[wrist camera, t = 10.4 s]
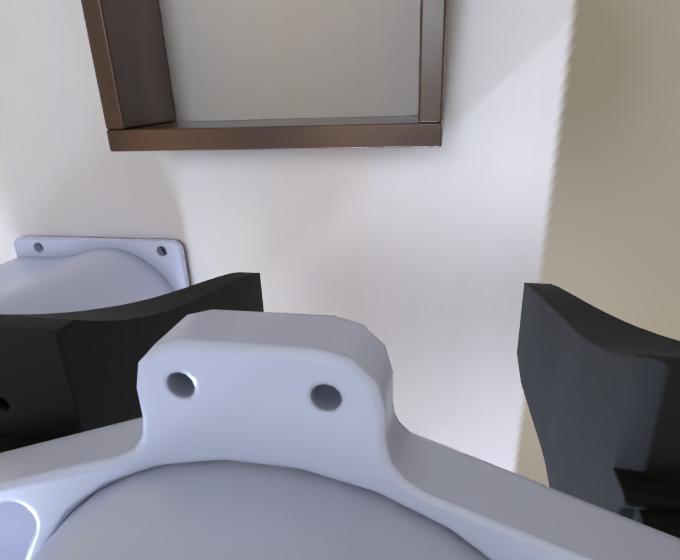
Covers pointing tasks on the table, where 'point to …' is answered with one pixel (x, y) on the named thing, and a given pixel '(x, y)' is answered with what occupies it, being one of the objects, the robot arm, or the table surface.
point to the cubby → (308, 133)
